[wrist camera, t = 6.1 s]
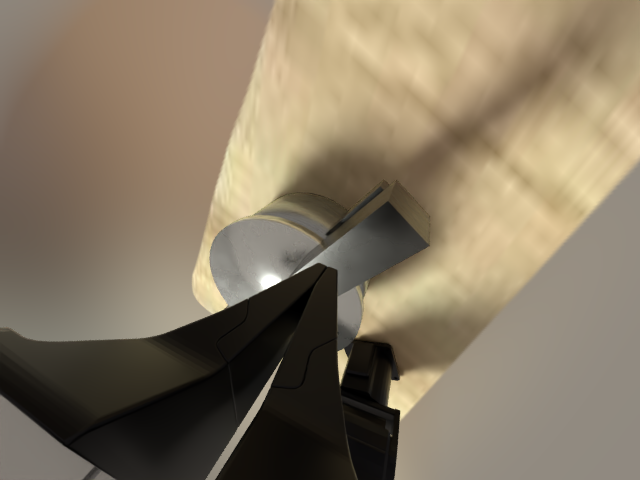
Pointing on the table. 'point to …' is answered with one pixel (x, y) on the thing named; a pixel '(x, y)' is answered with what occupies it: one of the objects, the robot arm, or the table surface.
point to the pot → (318, 212)
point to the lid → (321, 252)
